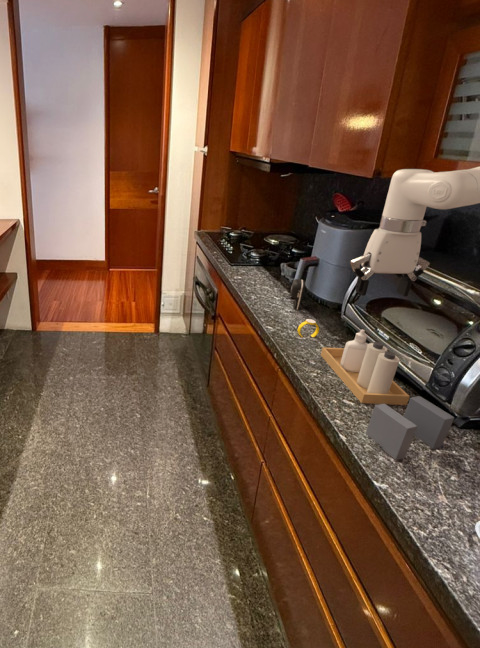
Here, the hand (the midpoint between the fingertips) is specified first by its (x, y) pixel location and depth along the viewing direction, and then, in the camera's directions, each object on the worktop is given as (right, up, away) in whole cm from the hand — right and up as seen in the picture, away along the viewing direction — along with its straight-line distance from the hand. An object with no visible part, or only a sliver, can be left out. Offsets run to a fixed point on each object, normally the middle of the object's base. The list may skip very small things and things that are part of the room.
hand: (380, 293), depth 95 cm
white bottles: (-2, -24, +1) cm, 24 cm away
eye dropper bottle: (-1, -21, +10) cm, 23 cm away
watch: (-4, -14, +27) cm, 31 cm away
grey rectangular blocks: (-6, -31, -14) cm, 34 cm away
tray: (-1, -23, +6) cm, 24 cm away
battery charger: (+1, -7, +45) cm, 46 cm away
